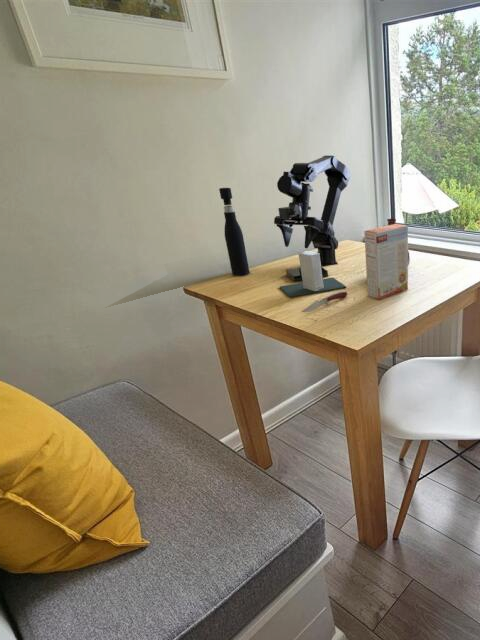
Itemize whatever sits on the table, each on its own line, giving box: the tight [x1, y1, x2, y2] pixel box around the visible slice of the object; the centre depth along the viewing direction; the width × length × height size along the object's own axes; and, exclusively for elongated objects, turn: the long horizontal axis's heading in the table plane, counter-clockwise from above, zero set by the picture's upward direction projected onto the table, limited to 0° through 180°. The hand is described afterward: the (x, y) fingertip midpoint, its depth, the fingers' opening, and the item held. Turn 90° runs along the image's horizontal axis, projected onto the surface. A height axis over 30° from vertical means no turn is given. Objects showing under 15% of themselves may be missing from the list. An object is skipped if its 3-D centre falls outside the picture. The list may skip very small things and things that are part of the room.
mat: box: [279, 277, 347, 299], centre depth 147 cm, size 20×12×1 cm, turn 118°
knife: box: [300, 290, 348, 313], centre depth 131 cm, size 20×1×3 cm, turn 144°
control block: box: [285, 266, 329, 283], centre depth 158 cm, size 13×11×4 cm
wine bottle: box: [218, 187, 250, 277], centre depth 155 cm, size 6×6×30 cm
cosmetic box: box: [298, 250, 324, 291], centre depth 141 cm, size 6×4×12 cm
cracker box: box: [364, 223, 409, 300], centre depth 136 cm, size 14×6×21 cm, turn 135°
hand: (296, 247), depth 152 cm, fingers open, 9 cm apart
